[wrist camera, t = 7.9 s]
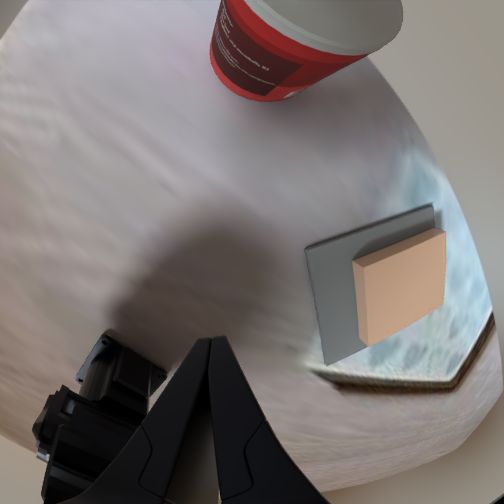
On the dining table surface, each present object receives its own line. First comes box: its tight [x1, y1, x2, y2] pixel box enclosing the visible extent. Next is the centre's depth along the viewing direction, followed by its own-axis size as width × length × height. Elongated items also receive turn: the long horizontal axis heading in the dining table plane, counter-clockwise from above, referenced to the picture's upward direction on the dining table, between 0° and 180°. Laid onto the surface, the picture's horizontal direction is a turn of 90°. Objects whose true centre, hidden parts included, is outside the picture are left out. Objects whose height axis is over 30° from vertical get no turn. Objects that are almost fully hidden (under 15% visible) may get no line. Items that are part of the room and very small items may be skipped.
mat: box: [305, 205, 435, 366], centre depth 24 cm, size 14×12×1 cm
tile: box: [352, 228, 446, 347], centre depth 23 cm, size 2×8×10 cm
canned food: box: [210, 0, 403, 102], centre depth 12 cm, size 8×8×11 cm
